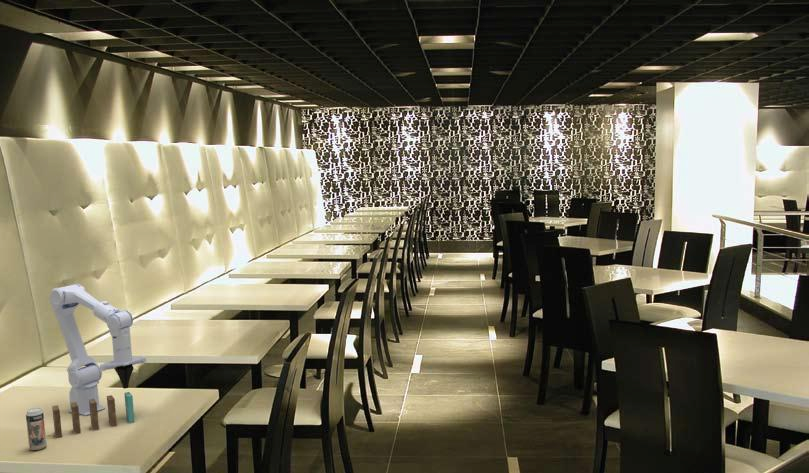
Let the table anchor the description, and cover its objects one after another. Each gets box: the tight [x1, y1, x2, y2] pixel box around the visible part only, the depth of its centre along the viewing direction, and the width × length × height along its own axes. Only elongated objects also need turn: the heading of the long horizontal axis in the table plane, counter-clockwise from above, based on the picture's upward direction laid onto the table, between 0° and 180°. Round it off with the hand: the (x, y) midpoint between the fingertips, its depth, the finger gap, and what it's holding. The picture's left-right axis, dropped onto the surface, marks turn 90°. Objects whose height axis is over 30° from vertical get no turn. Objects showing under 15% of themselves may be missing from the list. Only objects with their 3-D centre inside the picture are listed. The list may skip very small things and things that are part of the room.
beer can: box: [25, 407, 48, 452], centre depth 237 cm, size 5×5×12 cm
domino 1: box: [51, 404, 63, 439], centre depth 248 cm, size 2×5×9 cm, turn 30°
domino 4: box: [106, 394, 118, 428], centre depth 256 cm, size 2×5×9 cm, turn 30°
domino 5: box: [123, 391, 135, 424], centre depth 259 cm, size 2×5×9 cm, turn 30°
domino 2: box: [70, 402, 81, 435], centre depth 251 cm, size 2×5×9 cm, turn 30°
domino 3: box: [89, 399, 100, 431], centre depth 253 cm, size 2×5×9 cm, turn 30°
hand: (125, 387), depth 261 cm, fingers closed
